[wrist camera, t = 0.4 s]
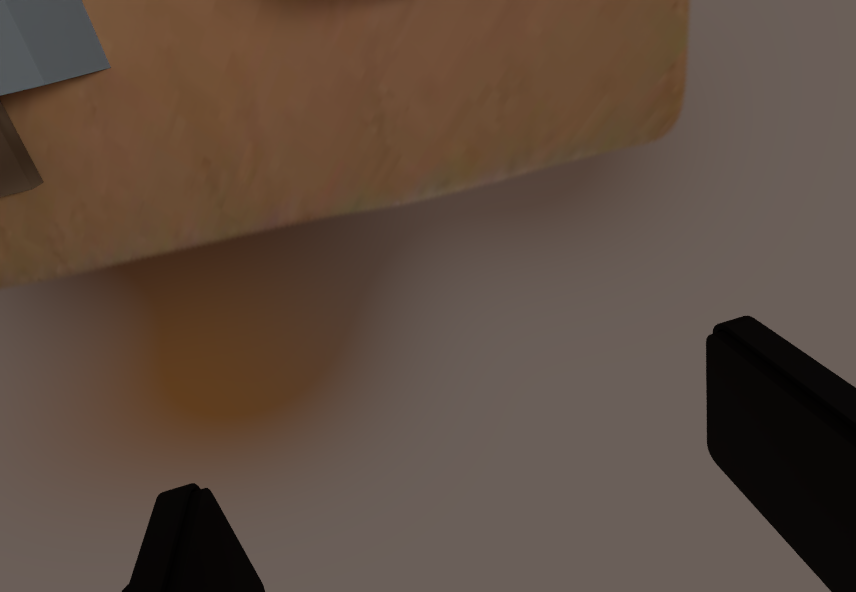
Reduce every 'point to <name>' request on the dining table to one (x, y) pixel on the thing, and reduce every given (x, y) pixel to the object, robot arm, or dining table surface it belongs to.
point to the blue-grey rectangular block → (46, 43)
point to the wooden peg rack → (14, 160)
